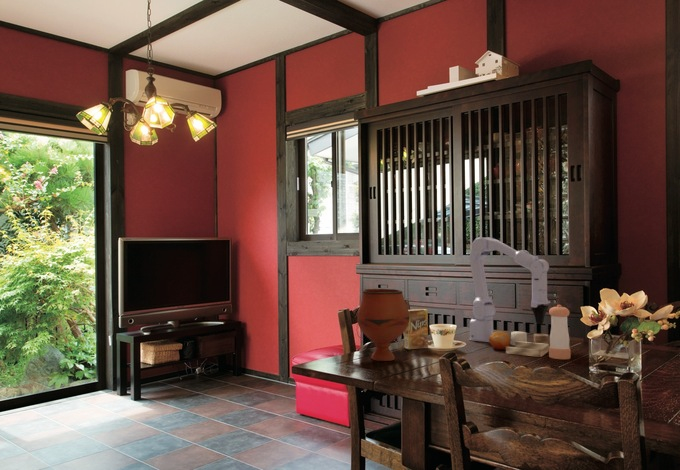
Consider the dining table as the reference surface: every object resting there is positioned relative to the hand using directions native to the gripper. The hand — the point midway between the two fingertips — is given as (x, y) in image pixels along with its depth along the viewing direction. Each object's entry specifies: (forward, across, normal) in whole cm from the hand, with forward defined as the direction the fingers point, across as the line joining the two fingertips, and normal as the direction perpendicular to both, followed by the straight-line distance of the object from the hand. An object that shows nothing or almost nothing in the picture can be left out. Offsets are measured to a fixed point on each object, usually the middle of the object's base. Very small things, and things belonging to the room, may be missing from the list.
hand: (539, 323), depth 217 cm
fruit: (+10, -12, +12) cm, 19 cm away
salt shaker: (+10, -14, -12) cm, 20 cm away
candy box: (+10, -29, +39) cm, 50 cm away
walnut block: (+10, +1, 0) cm, 10 cm away
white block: (+10, +1, +9) cm, 13 cm away
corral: (+9, -11, +1) cm, 14 cm away
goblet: (+10, -54, +39) cm, 67 cm away
